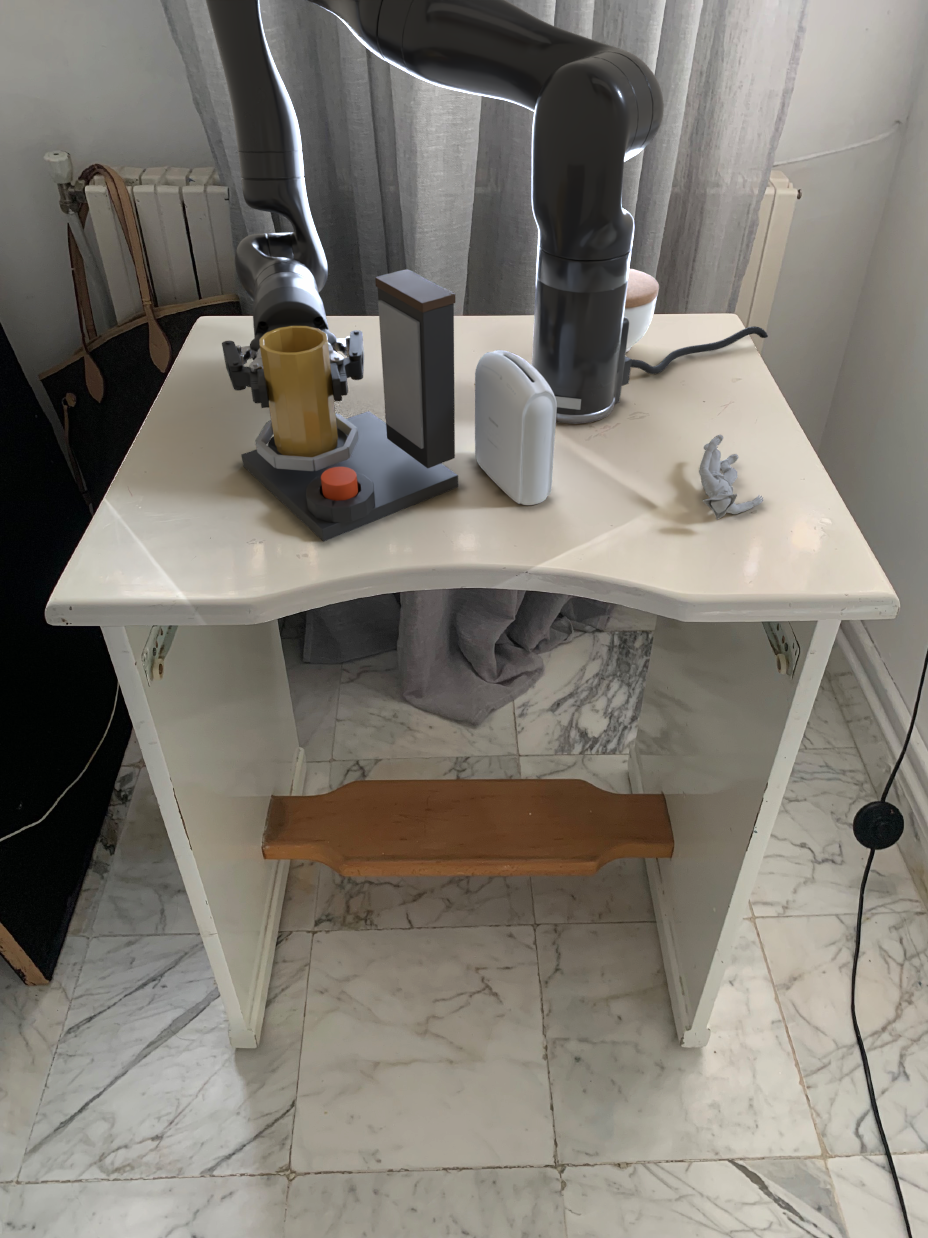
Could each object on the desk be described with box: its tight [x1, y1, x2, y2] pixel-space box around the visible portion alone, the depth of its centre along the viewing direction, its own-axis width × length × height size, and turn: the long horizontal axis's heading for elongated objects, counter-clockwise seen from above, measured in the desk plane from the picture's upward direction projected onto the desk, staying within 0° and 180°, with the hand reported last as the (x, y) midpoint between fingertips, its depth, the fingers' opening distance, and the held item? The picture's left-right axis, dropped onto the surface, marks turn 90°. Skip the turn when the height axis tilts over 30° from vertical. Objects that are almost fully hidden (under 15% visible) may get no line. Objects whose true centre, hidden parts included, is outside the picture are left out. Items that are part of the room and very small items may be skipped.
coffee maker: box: [254, 268, 456, 471], centre depth 82 cm, size 15×15×16 cm
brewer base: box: [240, 410, 459, 542], centre depth 88 cm, size 15×16×3 cm
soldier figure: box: [698, 434, 764, 521], centre depth 85 cm, size 8×5×12 cm
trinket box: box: [624, 268, 660, 353], centre depth 109 cm, size 11×11×9 cm
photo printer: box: [474, 349, 557, 506], centre depth 84 cm, size 10×4×12 cm, turn 26°
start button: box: [321, 467, 358, 501], centre depth 81 cm, size 3×3×2 cm
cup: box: [259, 326, 338, 457], centre depth 84 cm, size 6×6×10 cm
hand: (301, 394), depth 81 cm, fingers closed on cup, 6 cm apart
